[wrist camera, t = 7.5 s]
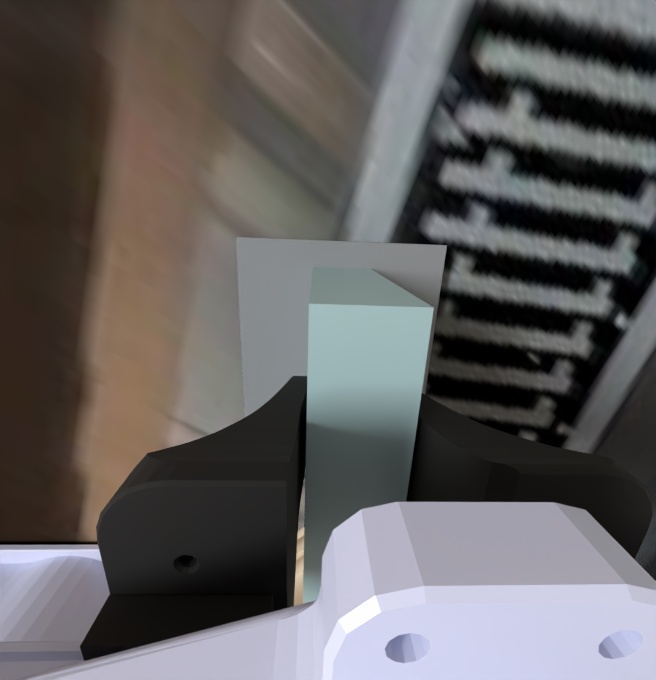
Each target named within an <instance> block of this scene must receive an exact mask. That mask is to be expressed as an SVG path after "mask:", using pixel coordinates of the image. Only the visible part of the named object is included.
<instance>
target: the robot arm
mask: <svg viewBox="0 0 656 680" xmlns="http://www.w3.org/2000/svg"><path fill="white" fill-rule="evenodd" d="M306 422H307V376H292V377H291V378H290V379H289V380H288V382H287V383H286V384H285V385H284V386H283V387H282V388H281V389H280V390H279V391H278V392H277V393H276V394H275V395H274V396H273V397H272V398H271V399H270V400H269V401H267V402H266V403H265V404H264V405H263V406H261V407H260V408H259V409H257V410H256V411H255V412H253V413H252V414H250V415H248V416H247V417H245V418H244V419H242V420H240V421H238V422H236V423H234V424H232V425H230V426H228V427H226V428H224V429H222V430H220V431H218V432H216V433H213V434H211V435H208V436H206V437H203V438H200V439H197V440H194V441H191V442H188V443H185V444H182V445H178V446H174V447H170V448H167V449H163V450H159V451H155V452H151V453H147V455H146V456H145V457H144V458H143V459H142V460H141V461H140V463H139V464H138V465H137V466H136V467H135V468H134V469H133V471H132V472H131V473H130V475H129V476H128V477H127V479H126V480H125V481H124V483H123V484H122V485H121V487H120V488H119V489H118V491H117V492H116V493H115V495H114V496H113V497H112V498H111V500H110V501H109V502H108V504H107V505H106V506H105V508H104V509H103V510H102V512H101V514H100V517H99V520H98V523H97V527H96V529H97V543H98V545H0V680H656V581H655V580H654V579H653V578H652V577H651V576H650V575H649V574H648V573H647V572H646V571H645V570H644V569H643V568H642V567H641V566H640V565H639V564H638V563H637V562H636V561H635V560H634V559H635V557H636V555H637V552H638V550H639V548H640V546H641V544H642V541H643V539H644V537H645V535H646V533H647V530H648V528H649V524H650V521H651V517H652V501H651V497H650V495H649V493H648V491H647V488H646V487H645V486H644V485H643V484H642V483H641V482H640V481H639V480H638V479H636V478H635V477H634V476H633V475H631V474H630V473H629V472H627V471H626V470H625V469H624V468H622V467H621V466H620V465H618V464H617V463H616V462H614V461H613V460H612V459H610V458H608V457H603V456H598V455H593V454H587V453H582V452H577V451H572V450H567V449H562V448H558V447H554V446H550V445H546V444H542V443H538V442H535V441H531V440H527V439H524V438H521V437H517V436H514V435H511V434H508V433H505V432H502V431H500V430H497V429H494V428H491V427H488V426H486V425H483V424H481V423H479V422H476V421H474V420H472V419H469V418H467V417H465V416H463V415H461V414H459V413H457V412H455V411H453V410H451V409H449V408H447V407H445V406H443V405H442V404H440V403H438V402H436V401H435V400H433V399H431V398H430V397H428V396H426V395H425V394H423V393H422V394H421V401H420V408H419V415H418V422H417V429H416V436H415V443H414V450H413V457H412V464H411V471H410V478H409V485H408V492H407V499H406V502H392V503H387V504H383V505H378V506H373V507H368V508H363V509H361V510H360V511H358V512H357V513H355V514H354V515H353V516H351V517H350V518H349V519H347V520H346V521H345V522H343V523H342V524H341V525H339V526H338V527H336V528H335V529H334V530H333V531H332V534H331V536H330V539H329V541H328V544H327V546H326V549H325V551H324V554H323V556H322V573H321V587H320V591H319V596H318V598H317V600H315V601H311V602H307V603H303V604H300V605H296V606H294V592H295V573H296V554H297V535H298V517H299V508H300V500H301V493H302V487H303V480H304V474H305V467H306Z"/></svg>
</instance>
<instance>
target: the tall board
mask: <svg viewBox="0 0 656 680" xmlns="http://www.w3.org/2000/svg"><path fill="white" fill-rule="evenodd" d="M433 310H434V307H432V306H431V305H429V304H427V303H426V302H424V301H422V300H421V299H419V298H417V297H416V296H414V295H413V294H411V293H409V292H408V291H406V290H404V289H403V288H401V287H400V286H398V285H396V284H395V283H393V282H391V281H390V280H388V279H387V278H385V277H383V276H382V275H380V274H378V273H377V272H375V271H374V270H372V269H370V268H346V267H318V266H313V270H312V279H311V289H310V298H309V325H308V374H307V422H306V471H305V520H304V569H303V603H307V602H311V601H315V600H317V598H318V596H319V591H320V587H321V573H322V556H323V554H324V551H325V549H326V546H327V544H328V541H329V539H330V536H331V534H332V531H333V530H334V529H335V528H336V527H338V526H339V525H341V524H342V523H343V522H345V521H346V520H347V519H349V518H350V517H351V516H353V515H354V514H355V513H357V512H358V511H360V510H361V509H363V508H368V507H373V506H378V505H383V504H387V503H392V502H406V499H407V492H408V485H409V478H410V471H411V464H412V457H413V450H414V443H415V436H416V429H417V422H418V415H419V408H420V401H421V394H422V387H423V380H424V373H425V366H426V359H427V352H428V345H429V338H430V331H431V324H432V317H433Z"/></svg>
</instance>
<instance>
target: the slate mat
mask: <svg viewBox="0 0 656 680" xmlns="http://www.w3.org/2000/svg"><path fill="white" fill-rule="evenodd" d="M236 248H237V269H238V290H239V311H240V332H241V353H242V374H243V395H244V416H245V417H247V416H248V415H250V414H252V413H253V412H255V411H256V410H257V409H259V408H260V407H261V406H263V405H264V404H265V403H266V402H267V401H269V400H270V399H271V398H272V397H273V396H274V395H275V394H276V393H277V392H278V391H279V390H280V389H281V388H282V387H283V386H284V385H285V384H286V383H287V382H288V380H289V379H290V378H291V377H292V376H307V374H308V325H309V298H310V289H311V279H312V270H313V266H318V267H346V268H370V269H372V270H374V271H375V272H377V273H378V274H380V275H382V276H383V277H385V278H387V279H388V280H390V281H391V282H393V283H395V284H396V285H398V286H400V287H401V288H403V289H404V290H406V291H408V292H409V293H411V294H413V295H414V296H416V297H417V298H419V299H421V300H422V301H424V302H426V303H427V304H429V305H431V306H432V307H434V310H433V317H432V324H431V331H430V338H429V345H428V352H427V359H426V366H425V373H424V380H423V387H422V393H423V394H425V391H426V384H427V377H428V371H429V364H430V357H431V350H432V343H433V337H434V330H435V323H436V316H437V309H438V303H439V296H440V289H441V282H442V275H443V269H444V262H445V255H446V248H447V246H446V245H424V244H399V243H375V242H350V241H325V240H300V239H275V238H250V237H236Z"/></svg>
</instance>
